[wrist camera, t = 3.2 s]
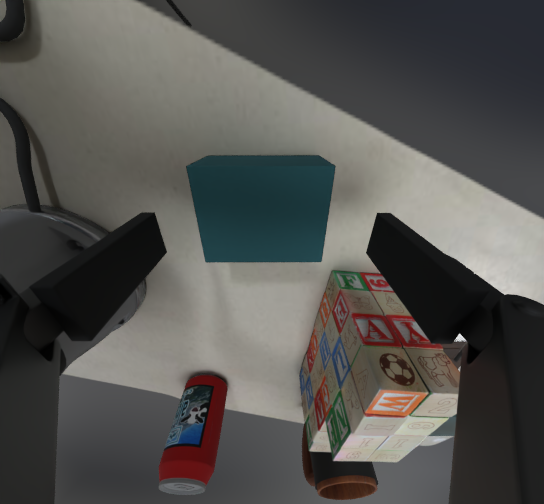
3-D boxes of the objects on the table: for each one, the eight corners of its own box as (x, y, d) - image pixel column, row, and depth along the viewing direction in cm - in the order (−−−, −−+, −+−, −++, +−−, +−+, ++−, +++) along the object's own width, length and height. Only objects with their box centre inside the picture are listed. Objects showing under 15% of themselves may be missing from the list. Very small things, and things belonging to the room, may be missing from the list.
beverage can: (203, 365, 32) (171, 477, 22) (236, 381, 35) (222, 489, 24) (179, 381, 35) (141, 489, 24) (212, 395, 37) (189, 498, 27)
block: (207, 155, 17) (185, 166, 12) (319, 155, 17) (335, 165, 12) (219, 233, 20) (205, 262, 16) (311, 233, 20) (321, 262, 16)
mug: (280, 402, 38) (283, 501, 28) (322, 370, 33) (345, 475, 23) (316, 415, 40) (332, 509, 30) (361, 386, 35) (397, 488, 25)
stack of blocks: (336, 377, 34) (365, 489, 24) (298, 375, 34) (310, 488, 23) (386, 273, 23) (484, 399, 12) (331, 268, 23) (382, 394, 12)
